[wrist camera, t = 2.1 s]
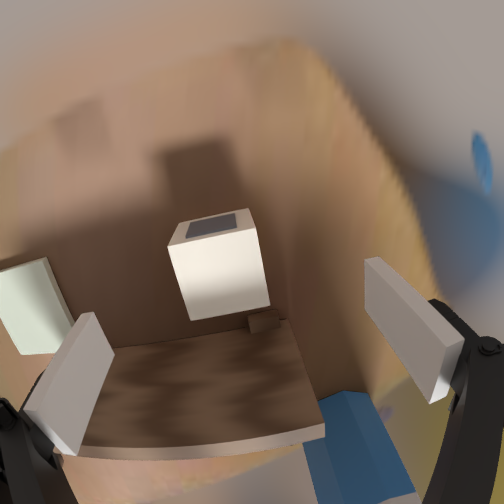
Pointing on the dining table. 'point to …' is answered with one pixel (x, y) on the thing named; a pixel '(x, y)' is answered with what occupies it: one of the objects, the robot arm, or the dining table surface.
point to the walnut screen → (205, 397)
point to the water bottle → (356, 456)
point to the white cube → (219, 264)
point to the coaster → (34, 308)
